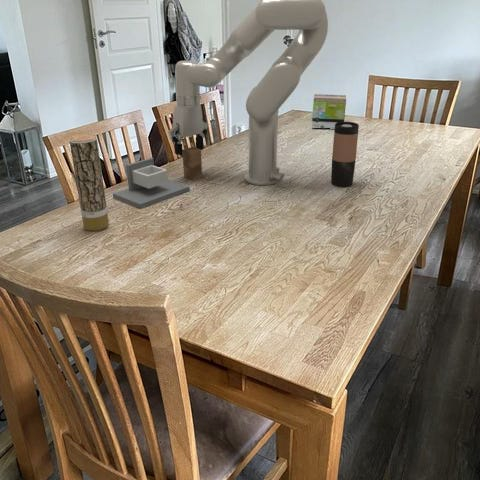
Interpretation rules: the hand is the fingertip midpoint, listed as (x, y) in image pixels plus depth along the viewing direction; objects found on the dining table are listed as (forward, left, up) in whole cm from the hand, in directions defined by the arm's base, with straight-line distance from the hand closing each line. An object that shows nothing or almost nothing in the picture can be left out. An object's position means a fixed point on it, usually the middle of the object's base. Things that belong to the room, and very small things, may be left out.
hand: (189, 151), depth 169 cm
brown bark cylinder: (-11, +45, -9) cm, 48 cm away
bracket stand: (-3, +19, -9) cm, 22 cm away
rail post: (-1, -1, -9) cm, 9 cm away
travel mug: (-44, -29, -9) cm, 53 cm away
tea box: (+3, -93, -10) cm, 93 cm away
